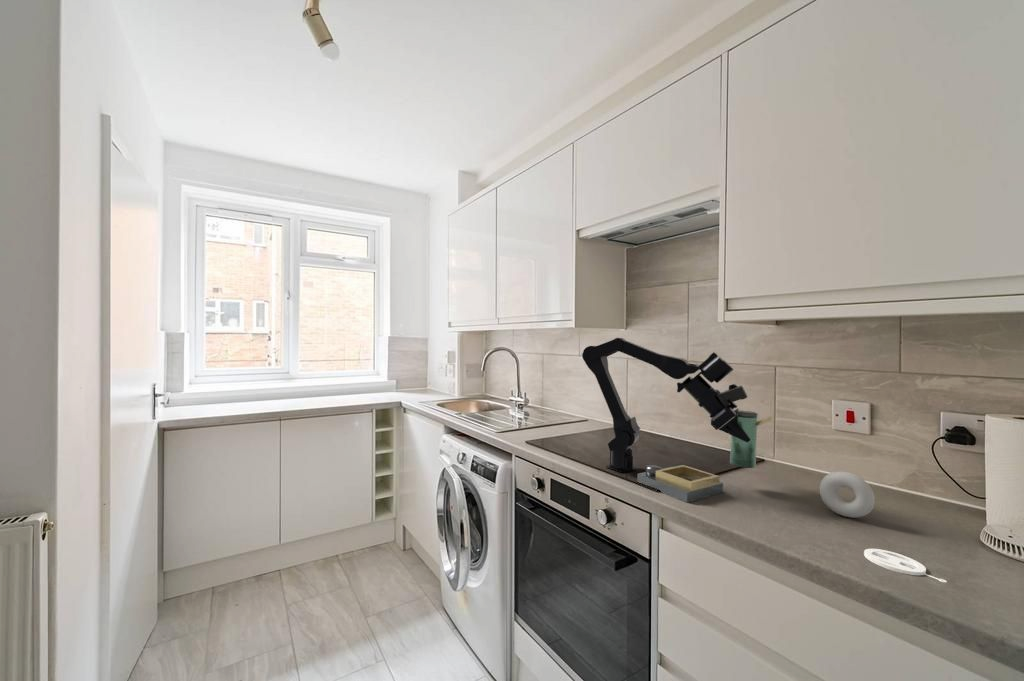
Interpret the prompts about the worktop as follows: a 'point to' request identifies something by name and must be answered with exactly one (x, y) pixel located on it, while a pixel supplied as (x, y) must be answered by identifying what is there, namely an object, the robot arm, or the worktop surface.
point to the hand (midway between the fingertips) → (749, 438)
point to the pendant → (896, 562)
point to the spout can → (741, 450)
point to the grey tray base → (681, 482)
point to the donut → (856, 484)
